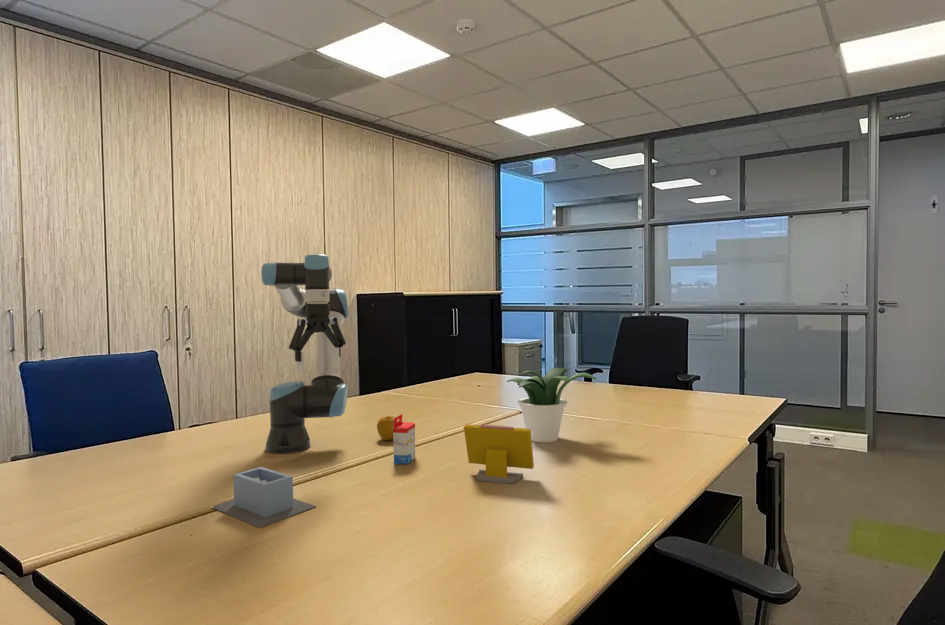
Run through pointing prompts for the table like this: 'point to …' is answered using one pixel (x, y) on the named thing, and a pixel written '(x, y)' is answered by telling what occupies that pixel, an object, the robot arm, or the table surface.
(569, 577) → the table surface
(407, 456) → the ink box
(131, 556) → the table surface
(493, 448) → the yellow framed monitor
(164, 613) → the table surface
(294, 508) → the header
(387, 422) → the apple
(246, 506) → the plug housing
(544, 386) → the potted plant
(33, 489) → the table surface
